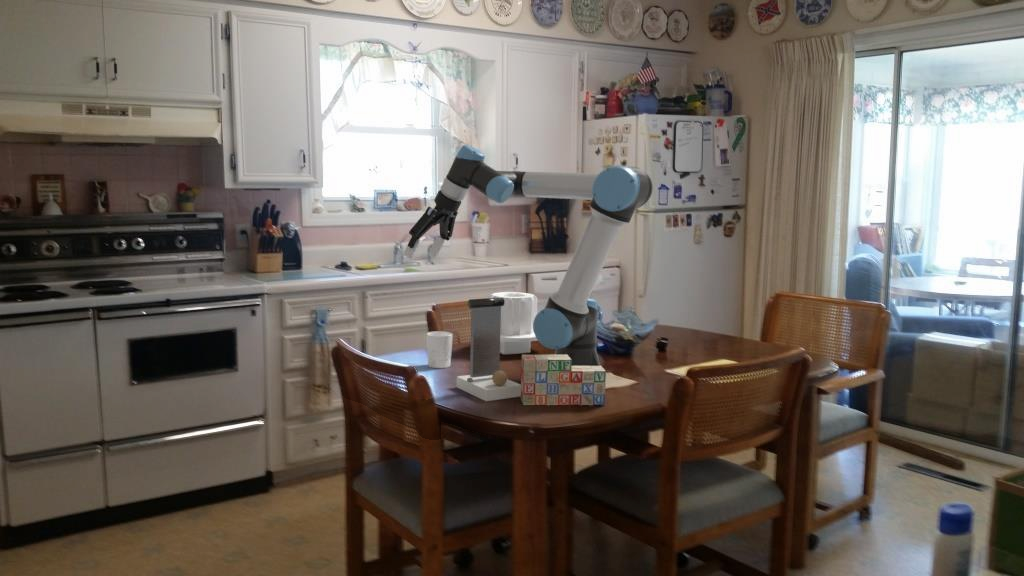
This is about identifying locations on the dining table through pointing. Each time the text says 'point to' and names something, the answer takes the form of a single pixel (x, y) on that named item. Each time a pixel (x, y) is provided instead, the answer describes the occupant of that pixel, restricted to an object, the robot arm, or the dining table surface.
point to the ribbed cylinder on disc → (517, 321)
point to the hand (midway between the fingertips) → (419, 256)
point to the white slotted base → (490, 386)
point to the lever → (485, 336)
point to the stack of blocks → (560, 381)
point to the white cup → (439, 349)
